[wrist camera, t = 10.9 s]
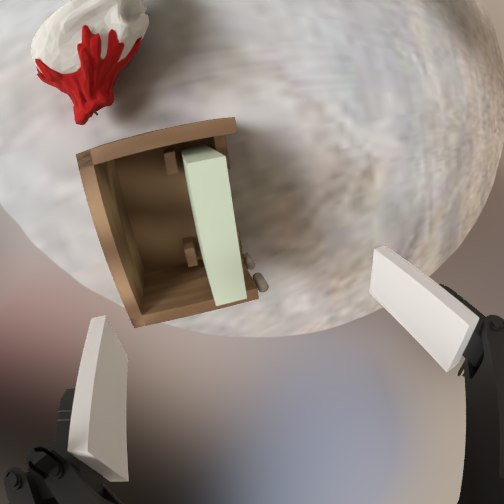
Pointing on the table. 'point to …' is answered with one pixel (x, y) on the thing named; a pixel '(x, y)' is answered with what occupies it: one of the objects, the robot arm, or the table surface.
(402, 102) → the table surface
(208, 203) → the door
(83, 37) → the white and red lump
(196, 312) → the cabinet
